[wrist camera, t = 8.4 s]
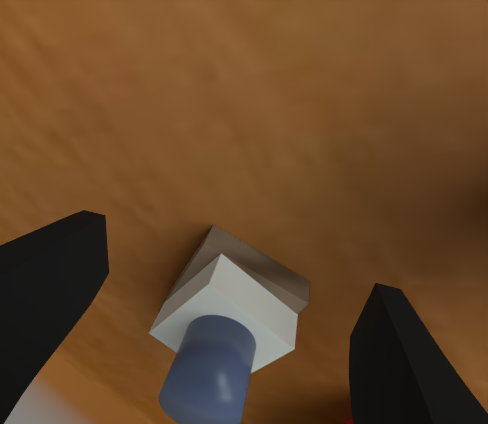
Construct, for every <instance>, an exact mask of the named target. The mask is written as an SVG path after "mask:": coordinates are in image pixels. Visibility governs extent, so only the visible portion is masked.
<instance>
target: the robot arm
mask: <svg viewBox="0 0 488 424" xmlns="http://www.w3.org/2000/svg"><path fill="white" fill-rule="evenodd" d="M108 274H109V265H108V249H107V234H106V219H105V215H101V214H97V213H93V212H89V211H85V210H83V211H81V212H78V213H75V214H73V215H70V216H68V217H65V218H63V219H61V220H58V221H56V222H54V223H51V224H49V225H47V226H45V227H42V228H40V229H38V230H35V231H33V232H31V233H28V234H26V235H24V236H22V237H19V238H17V239H15V240H12V241H10V242H8V243H5V244H3V245H0V424H4V422H5V420H6V419H7V418H8V416H9V415H10V413H11V411H12V410H13V408H14V407H15V405H16V403H17V402H18V400H19V399H20V397H21V396H22V394H23V393H24V391H25V390H26V389H27V387H28V386H29V384H30V383H31V382H32V380H33V379H34V377H35V376H36V375H37V373H38V372H39V371H40V370H41V368H42V367H43V366H44V364H45V363H46V361H48V359H49V358H50V357H51V355H52V354H53V353H54V351H55V350H56V349H57V348H58V346H59V345H60V344H61V342H62V341H63V340H64V339H65V337H66V336H67V335H68V333H69V332H70V331H71V330H72V328H73V327H74V326H75V324H76V323H77V322H78V320H79V319H80V318H81V316H82V315H83V314H84V313H85V311H86V310H87V308H88V307H89V306H90V304H91V303H92V301H93V300H94V298H95V296H96V295H97V293H98V291H99V290H100V288H101V286H102V284H103V282H104V281H105V279H106V277H107V275H108ZM349 383H350V395H351V408H352V419H353V424H488V413H487V412H486V411H485V410H484V408H483V407H482V406H481V404H480V403H479V402H478V400H477V399H476V398H475V396H474V395H473V394H472V393H471V391H470V390H469V389H468V387H467V386H466V385H465V383H464V382H463V380H462V379H461V378H460V376H459V375H458V374H457V372H456V371H455V369H454V368H453V367H452V365H451V364H450V362H449V361H448V359H447V358H446V357H445V355H444V354H443V352H442V351H441V349H440V348H439V346H438V345H437V343H436V342H435V340H434V339H433V338H432V336H431V335H430V333H429V331H428V330H427V328H426V327H425V325H424V324H423V322H422V321H421V319H420V318H419V316H418V315H417V313H416V312H415V310H414V309H413V307H412V306H411V304H410V303H409V301H408V299H407V298H406V296H405V295H404V294H403V292H402V291H401V289H398V288H394V287H390V286H386V285H382V284H378V283H375V286H374V288H373V290H372V292H371V294H370V296H369V298H368V300H367V302H366V304H365V306H364V309H363V311H362V313H361V315H360V317H359V319H358V321H357V323H356V325H355V327H354V329H353V332H352V334H351V336H350V353H349Z"/></svg>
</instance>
